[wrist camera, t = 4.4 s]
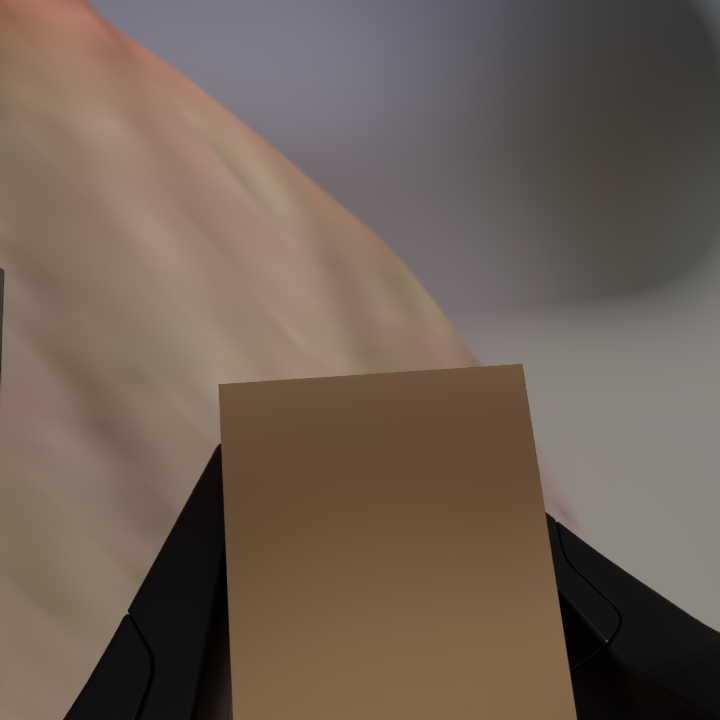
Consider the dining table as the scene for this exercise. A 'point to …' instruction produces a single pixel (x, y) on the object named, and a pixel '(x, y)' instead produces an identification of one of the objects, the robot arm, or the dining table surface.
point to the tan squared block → (389, 550)
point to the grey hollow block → (1, 305)
